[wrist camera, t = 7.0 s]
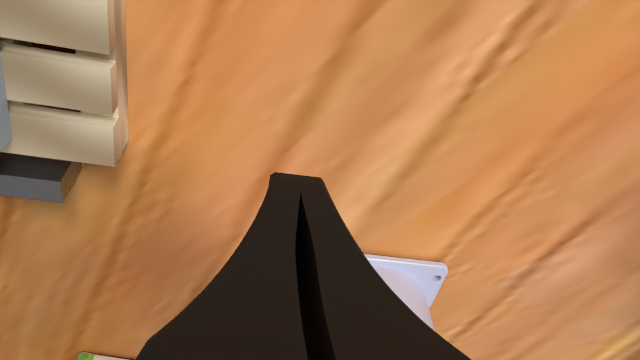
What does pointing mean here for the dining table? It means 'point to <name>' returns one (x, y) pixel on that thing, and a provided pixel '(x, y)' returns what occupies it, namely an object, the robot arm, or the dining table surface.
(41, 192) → the dock
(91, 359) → the syrup box
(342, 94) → the dining table surface
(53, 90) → the pallet
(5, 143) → the blue crate
